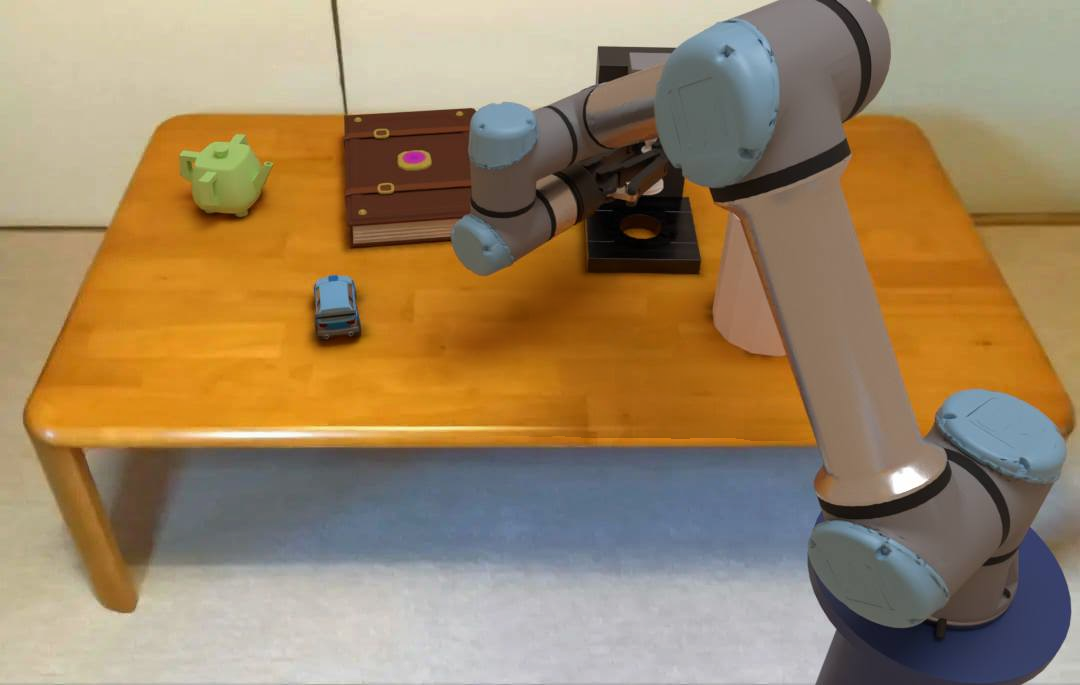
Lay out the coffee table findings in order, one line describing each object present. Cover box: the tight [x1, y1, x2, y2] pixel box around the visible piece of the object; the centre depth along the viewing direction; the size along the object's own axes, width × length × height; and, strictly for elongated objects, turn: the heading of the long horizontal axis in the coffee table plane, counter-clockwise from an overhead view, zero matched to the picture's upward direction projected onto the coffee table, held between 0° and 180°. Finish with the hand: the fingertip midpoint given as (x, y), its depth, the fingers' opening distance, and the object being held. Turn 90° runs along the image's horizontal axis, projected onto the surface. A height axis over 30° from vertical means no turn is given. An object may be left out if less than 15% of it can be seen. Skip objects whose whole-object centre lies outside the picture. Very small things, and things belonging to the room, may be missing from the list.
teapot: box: [178, 133, 275, 218], centre depth 154 cm, size 12×12×10 cm
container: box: [712, 211, 787, 358], centre depth 132 cm, size 14×14×18 cm
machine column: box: [594, 45, 686, 197], centre depth 149 cm, size 11×14×26 cm
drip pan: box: [584, 196, 702, 275], centre depth 151 cm, size 16×16×2 cm
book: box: [342, 107, 477, 248], centre depth 160 cm, size 23×32×5 cm
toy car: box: [313, 274, 362, 341], centre depth 135 cm, size 6×12×6 cm, turn 12°
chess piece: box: [641, 138, 663, 195], centre depth 137 cm, size 5×5×10 cm
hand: (674, 132), depth 140 cm, fingers closed on chess piece, 2 cm apart
